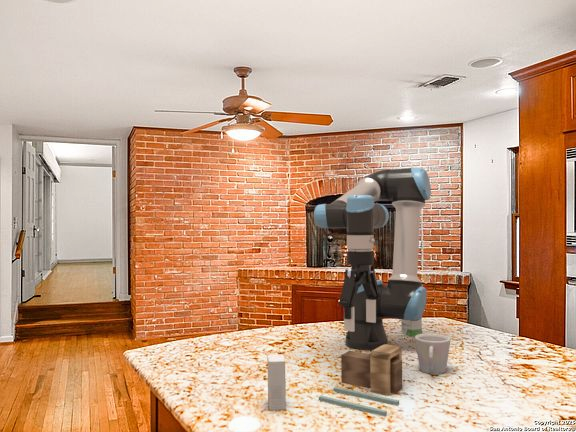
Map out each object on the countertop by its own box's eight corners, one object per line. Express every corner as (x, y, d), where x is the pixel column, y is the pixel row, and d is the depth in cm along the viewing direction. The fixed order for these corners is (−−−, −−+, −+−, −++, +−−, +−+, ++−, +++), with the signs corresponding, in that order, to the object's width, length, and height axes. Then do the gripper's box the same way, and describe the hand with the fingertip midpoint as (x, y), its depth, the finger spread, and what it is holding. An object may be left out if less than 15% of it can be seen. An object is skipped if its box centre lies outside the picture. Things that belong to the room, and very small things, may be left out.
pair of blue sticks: (318, 400, 125) (318, 396, 125) (335, 390, 133) (335, 386, 133) (384, 416, 115) (384, 412, 115) (399, 404, 122) (399, 400, 122)
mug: (451, 366, 152) (450, 334, 152) (450, 382, 138) (450, 346, 138) (416, 363, 155) (416, 332, 155) (412, 378, 141) (411, 344, 141)
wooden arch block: (370, 391, 131) (370, 351, 131) (385, 381, 139) (384, 343, 139) (388, 395, 128) (387, 354, 128) (401, 385, 136) (401, 346, 136)
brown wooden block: (341, 383, 138) (341, 354, 138) (349, 378, 142) (349, 350, 142) (395, 394, 129) (395, 364, 129) (402, 388, 134) (402, 359, 134)
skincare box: (267, 401, 125) (267, 354, 125) (284, 400, 125) (283, 353, 125) (268, 410, 119) (268, 361, 119) (286, 410, 119) (285, 360, 119)
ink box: (422, 336, 190) (422, 305, 190) (411, 337, 189) (410, 306, 189) (411, 331, 198) (411, 302, 198) (400, 332, 197) (400, 302, 197)
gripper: (351, 253, 125) (352, 337, 125) (390, 248, 146) (390, 320, 146) (326, 252, 129) (326, 333, 129) (367, 247, 150) (367, 317, 150)
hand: (360, 326), depth 137 cm, fingers open, 13 cm apart
